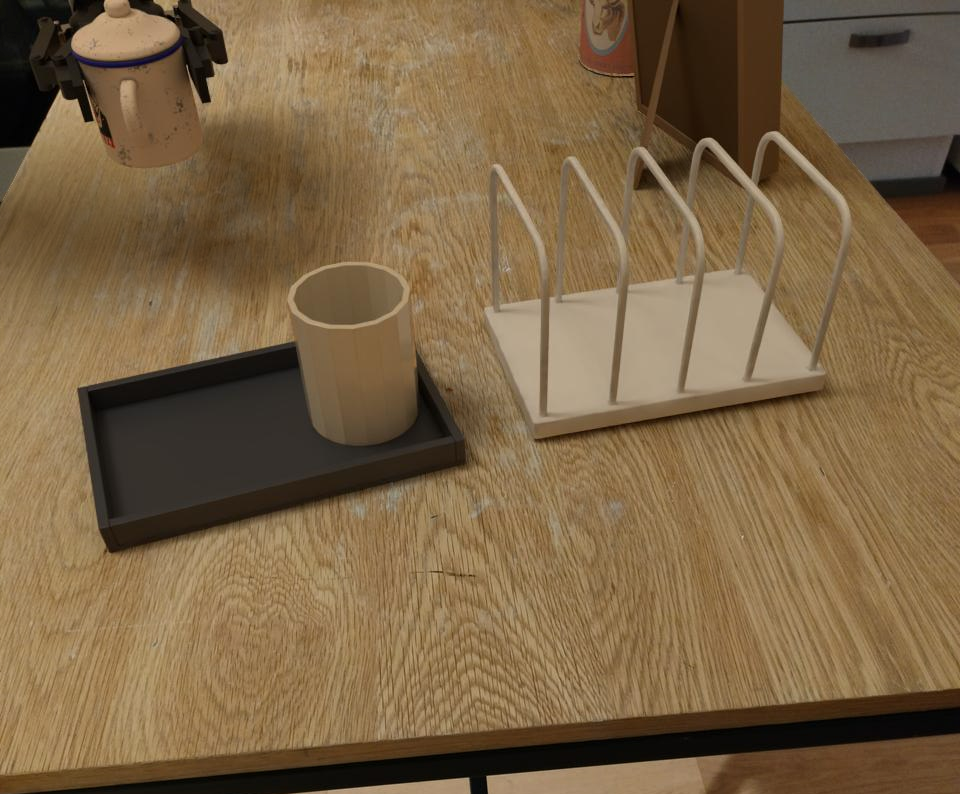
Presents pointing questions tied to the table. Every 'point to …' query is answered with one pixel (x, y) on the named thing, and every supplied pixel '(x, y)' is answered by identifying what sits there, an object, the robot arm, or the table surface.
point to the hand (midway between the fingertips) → (144, 94)
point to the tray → (235, 446)
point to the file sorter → (654, 318)
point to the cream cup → (356, 351)
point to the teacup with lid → (138, 86)
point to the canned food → (606, 36)
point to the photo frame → (710, 75)
